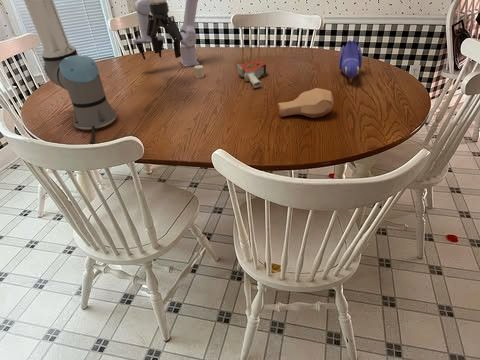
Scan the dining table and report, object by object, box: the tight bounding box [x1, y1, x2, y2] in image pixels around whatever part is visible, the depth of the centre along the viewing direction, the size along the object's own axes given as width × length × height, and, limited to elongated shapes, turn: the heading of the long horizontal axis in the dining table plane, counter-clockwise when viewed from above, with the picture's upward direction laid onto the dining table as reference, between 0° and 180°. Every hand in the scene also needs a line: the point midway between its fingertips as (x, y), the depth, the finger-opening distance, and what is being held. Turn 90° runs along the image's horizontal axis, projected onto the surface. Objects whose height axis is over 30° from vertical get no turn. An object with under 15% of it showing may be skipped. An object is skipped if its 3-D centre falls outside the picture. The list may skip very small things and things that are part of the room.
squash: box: [277, 87, 335, 119], centre depth 127 cm, size 11×20×9 cm, turn 92°
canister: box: [193, 64, 205, 79], centre depth 166 cm, size 4×4×5 cm
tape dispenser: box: [236, 60, 267, 89], centre depth 159 cm, size 18×5×20 cm
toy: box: [338, 39, 363, 84], centre depth 153 cm, size 10×17×25 cm
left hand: (167, 54), depth 158 cm, fingers open, 13 cm apart
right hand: (152, 58), depth 173 cm, fingers open, 7 cm apart
